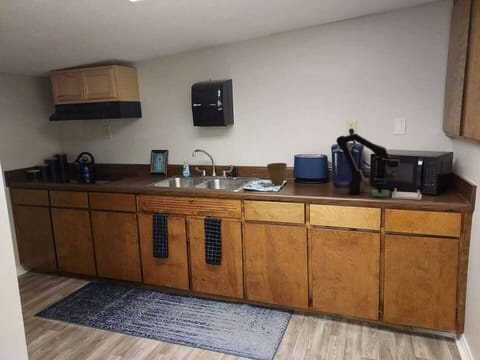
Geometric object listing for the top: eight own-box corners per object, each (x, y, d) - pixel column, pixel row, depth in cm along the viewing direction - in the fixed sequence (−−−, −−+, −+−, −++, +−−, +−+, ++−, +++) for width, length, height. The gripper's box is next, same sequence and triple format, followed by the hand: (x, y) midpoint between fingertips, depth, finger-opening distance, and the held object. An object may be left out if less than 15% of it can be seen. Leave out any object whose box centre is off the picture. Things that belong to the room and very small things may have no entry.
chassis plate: (391, 197, 217) (392, 192, 216) (393, 193, 227) (393, 187, 227) (421, 199, 210) (421, 193, 209) (421, 194, 220) (421, 189, 220)
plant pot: (289, 183, 274) (289, 162, 271) (283, 187, 261) (283, 165, 258) (271, 182, 281) (270, 162, 278) (264, 186, 267) (264, 165, 264)
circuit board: (371, 196, 225) (372, 191, 224) (372, 194, 230) (372, 189, 230) (389, 197, 221) (389, 192, 220) (389, 194, 226) (389, 190, 226)
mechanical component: (367, 193, 231) (367, 178, 229) (354, 190, 239) (354, 176, 237) (370, 192, 233) (370, 177, 231) (356, 190, 241) (357, 175, 239)
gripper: (394, 170, 210) (393, 195, 213) (396, 165, 226) (395, 188, 230) (374, 169, 215) (373, 194, 218) (377, 164, 231) (376, 188, 234)
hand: (380, 191), depth 225 cm, fingers open, 9 cm apart
